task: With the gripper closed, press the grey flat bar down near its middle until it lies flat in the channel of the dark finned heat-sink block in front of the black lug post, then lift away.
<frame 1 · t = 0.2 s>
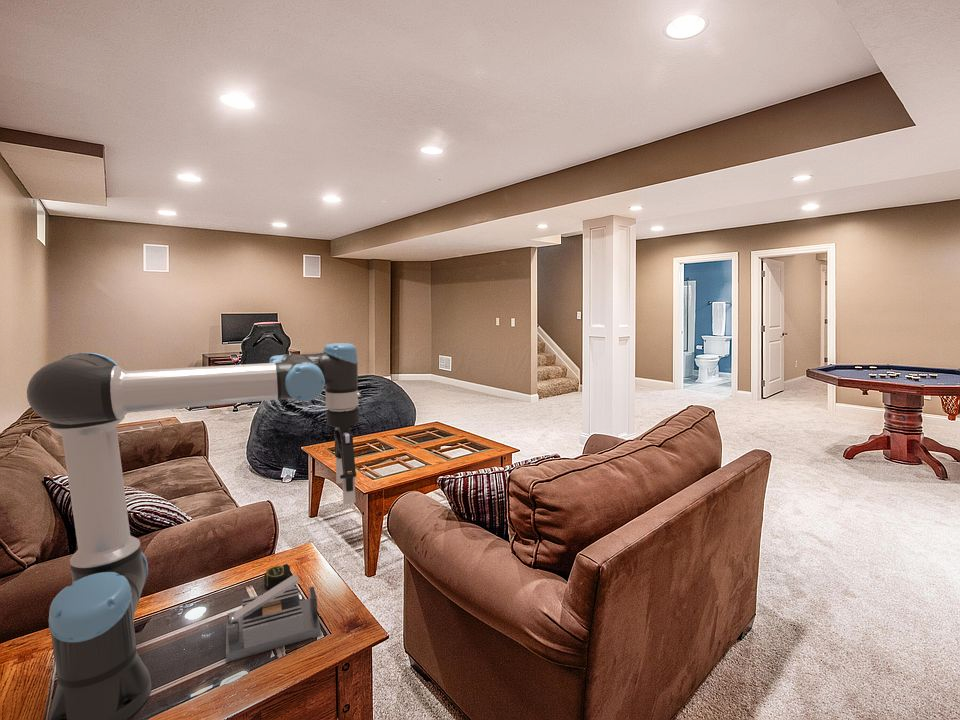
hand: (345, 492, 122), 28 cm above the table, fingers open, 13 cm apart
grey flat bar: (264, 599, 111), point 8 cm above the table, hinge at 24.0°
tape measure: (281, 583, 132), on the table
heatsink: (273, 631, 113), on the table
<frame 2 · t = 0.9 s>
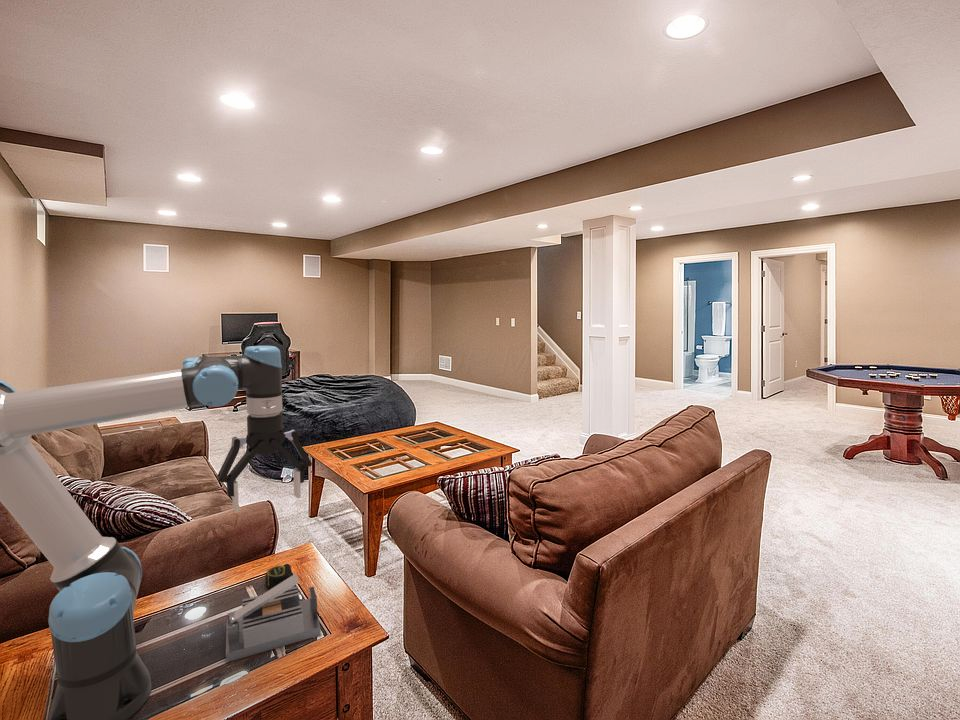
hand: (267, 502, 116), 28 cm above the table, fingers open, 13 cm apart
nothing on the table moved.
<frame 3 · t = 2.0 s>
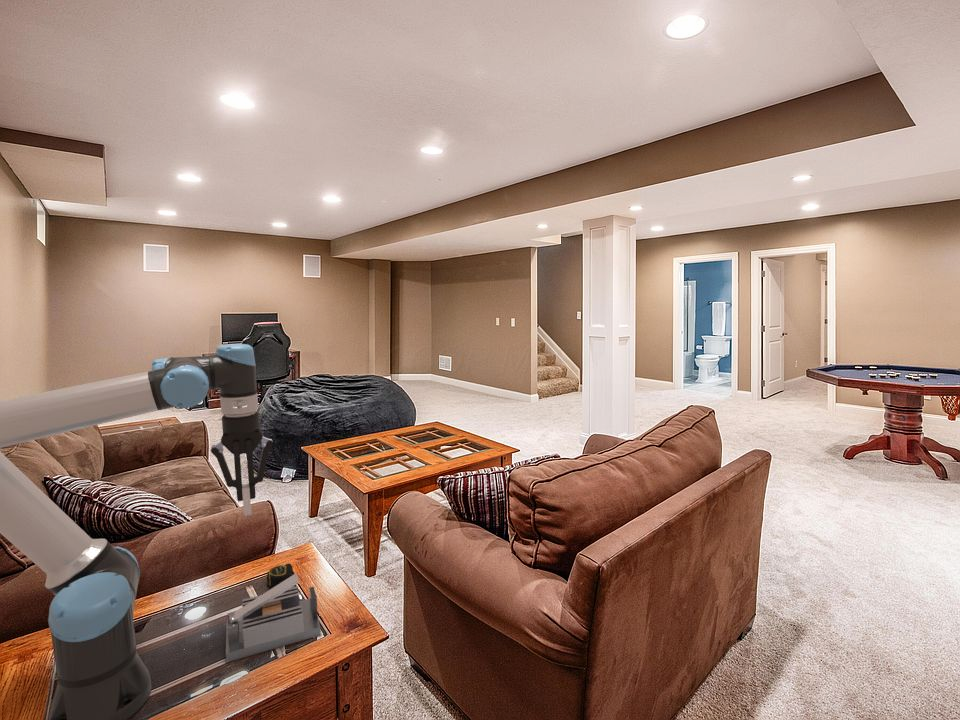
hand: (247, 512, 115), 26 cm above the table, fingers closed
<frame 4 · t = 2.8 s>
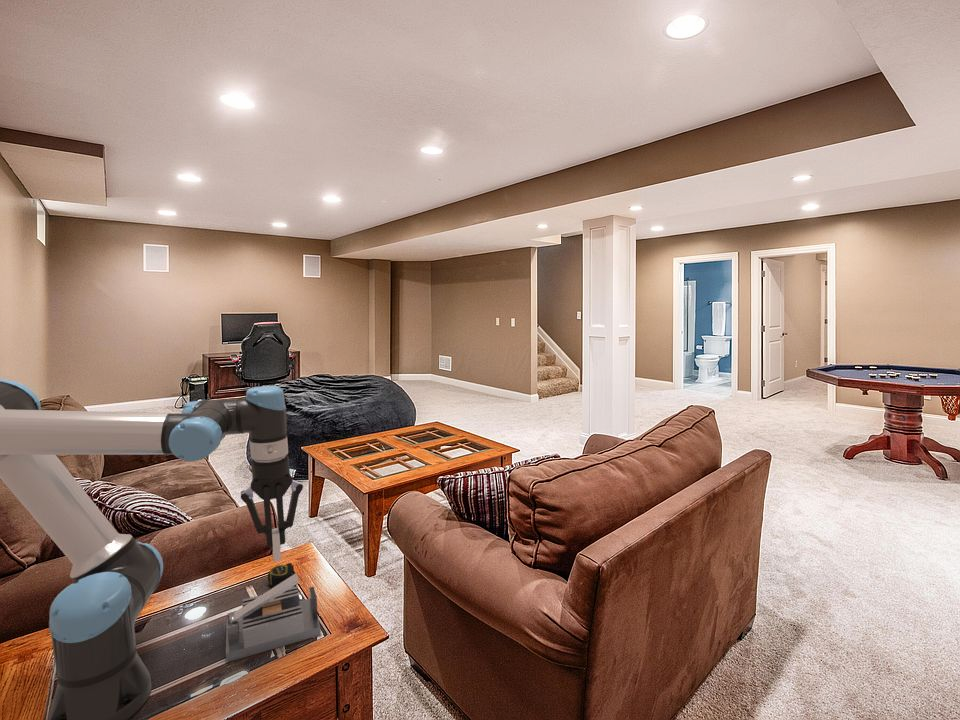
hand: (277, 558, 111), 17 cm above the table, fingers closed
nothing on the table moved.
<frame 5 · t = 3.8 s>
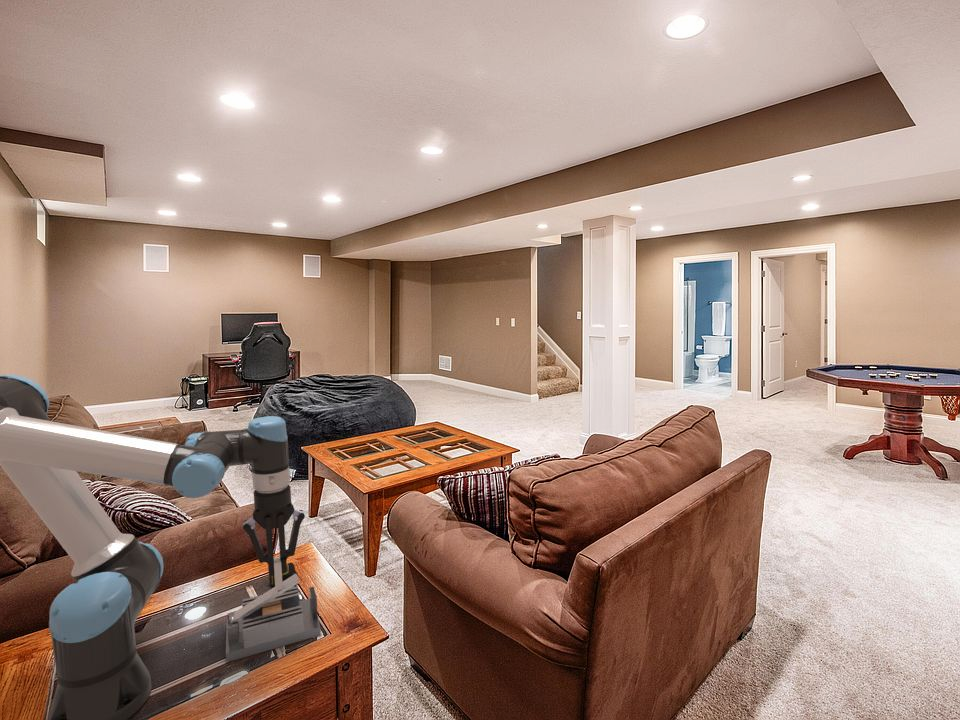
hand: (278, 586, 112), 11 cm above the table, fingers closed
grey flat bar: (264, 599, 111), point 8 cm above the table, hinge at 23.8°, touching gripper
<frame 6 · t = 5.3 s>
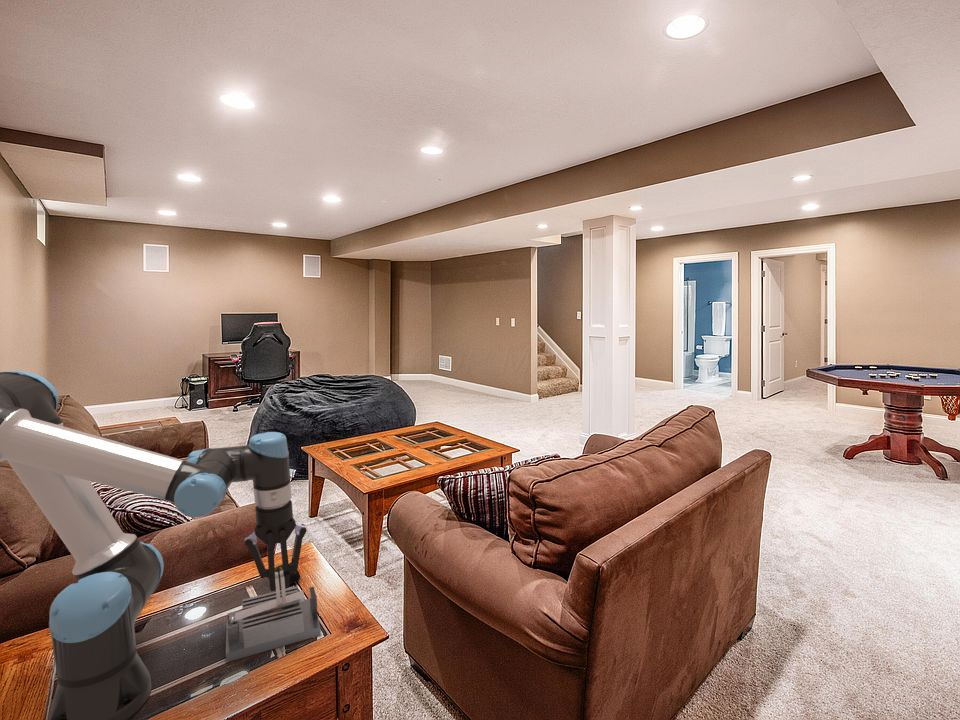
hand: (281, 601, 113), 7 cm above the table, fingers closed, pressing on grey flat bar
grey flat bar: (267, 607, 112), point 6 cm above the table, hinge at 5.5°, touching gripper
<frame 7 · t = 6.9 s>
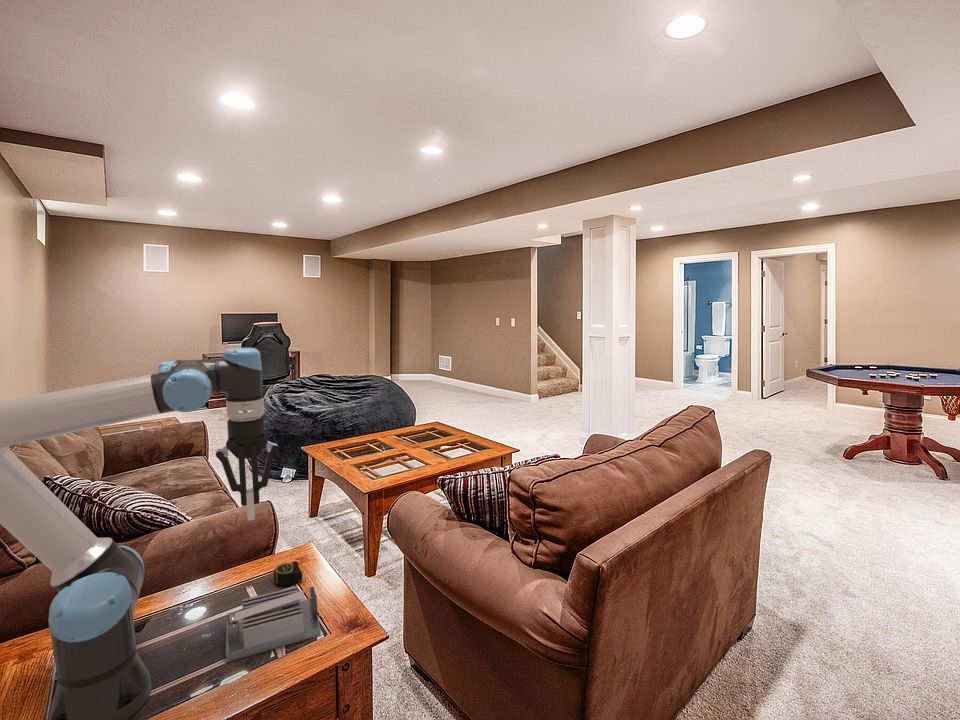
hand: (251, 517, 114), 25 cm above the table, fingers closed
grey flat bar: (267, 607, 112), point 6 cm above the table, hinge at 5.4°
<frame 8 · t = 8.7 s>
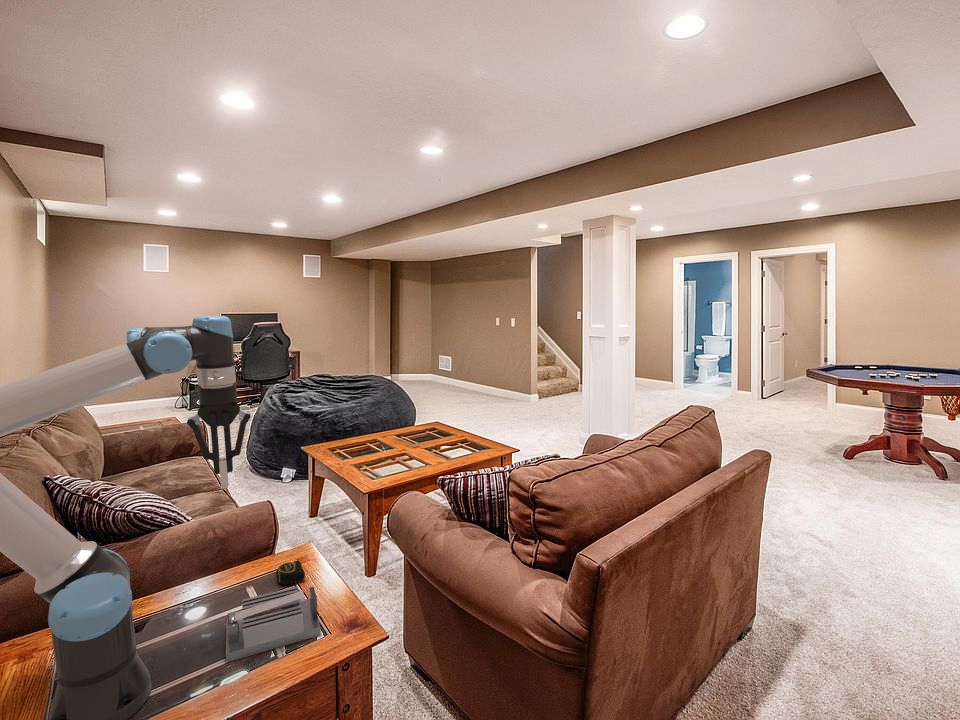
hand: (224, 486, 114), 32 cm above the table, fingers closed
at the end: grey flat bar at +5° (first picture: +24°); grey flat bar touching nothing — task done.
